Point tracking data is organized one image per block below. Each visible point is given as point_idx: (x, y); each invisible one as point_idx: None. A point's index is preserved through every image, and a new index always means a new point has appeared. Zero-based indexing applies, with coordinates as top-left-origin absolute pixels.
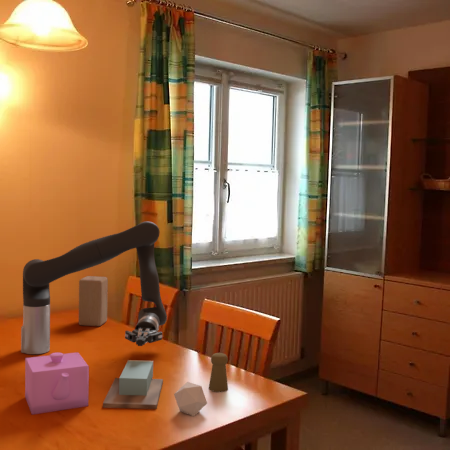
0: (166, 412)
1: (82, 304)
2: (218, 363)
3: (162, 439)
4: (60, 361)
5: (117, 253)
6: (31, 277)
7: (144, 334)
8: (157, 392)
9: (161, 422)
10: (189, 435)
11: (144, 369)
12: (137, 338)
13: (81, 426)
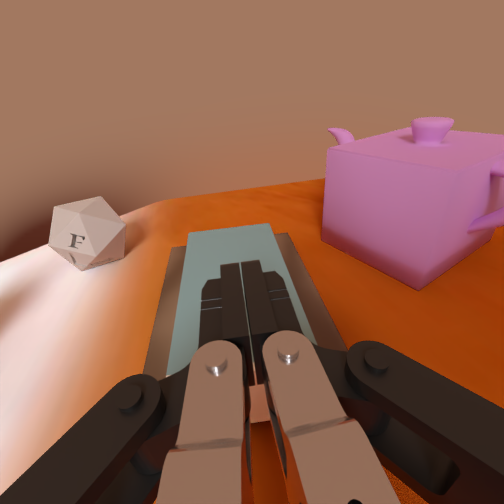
0: (153, 250)
1: None
2: None
3: (166, 205)
4: (414, 140)
5: None
6: None
7: (226, 415)
8: (167, 292)
9: (165, 228)
10: (126, 215)
11: (204, 279)
12: (285, 310)
13: (288, 203)
